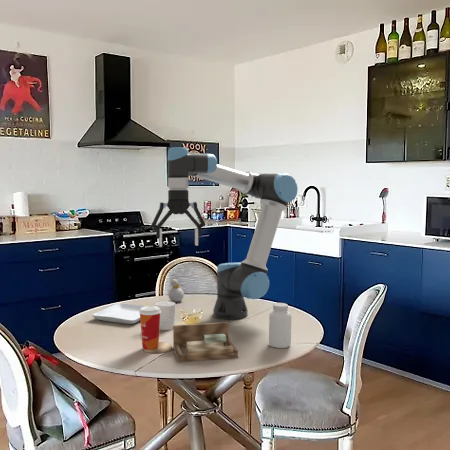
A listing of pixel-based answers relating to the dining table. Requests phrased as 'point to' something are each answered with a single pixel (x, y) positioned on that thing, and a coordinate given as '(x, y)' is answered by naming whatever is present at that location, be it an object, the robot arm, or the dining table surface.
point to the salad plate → (120, 313)
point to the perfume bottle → (175, 291)
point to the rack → (203, 342)
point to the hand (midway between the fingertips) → (178, 245)
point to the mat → (161, 348)
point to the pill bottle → (280, 326)
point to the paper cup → (150, 327)
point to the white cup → (166, 315)
